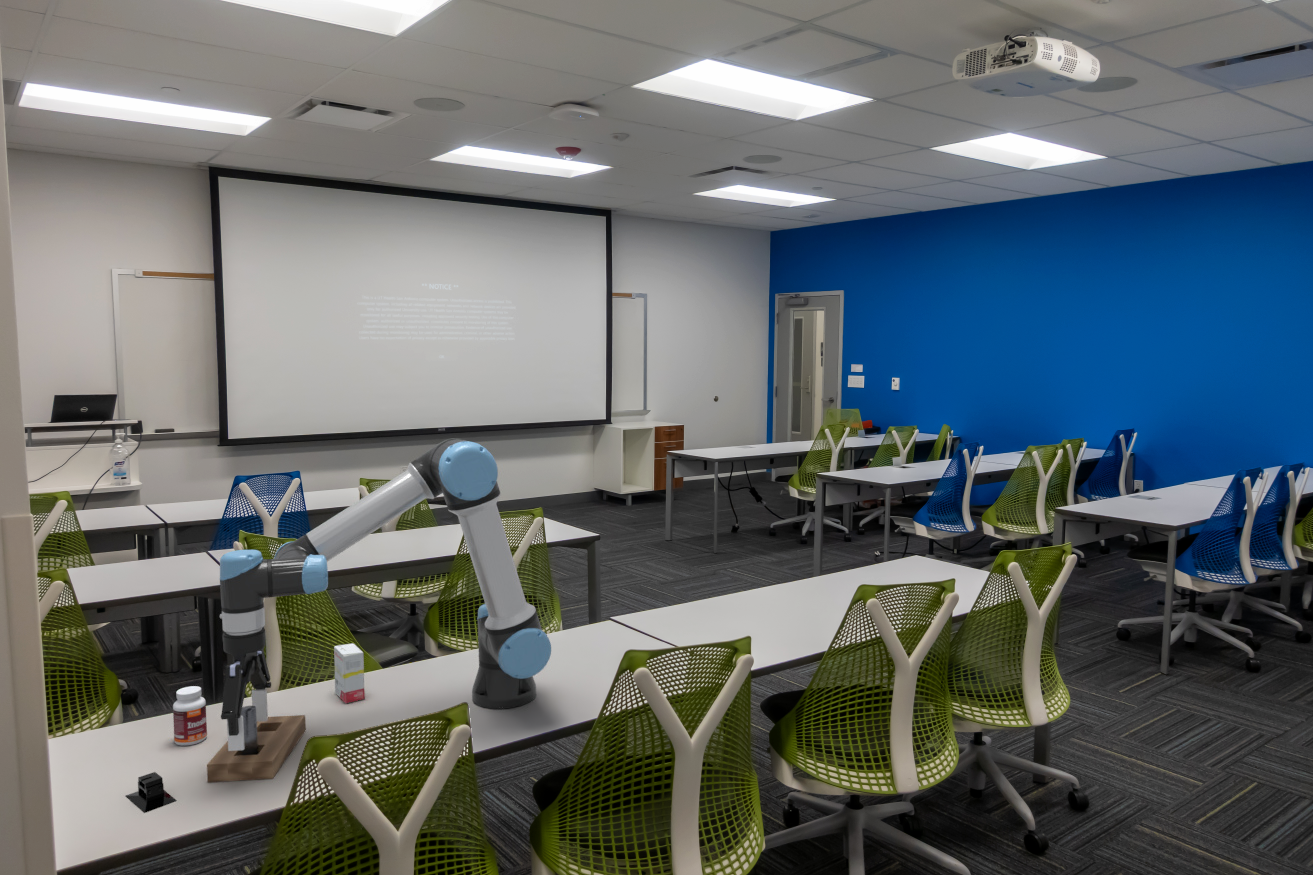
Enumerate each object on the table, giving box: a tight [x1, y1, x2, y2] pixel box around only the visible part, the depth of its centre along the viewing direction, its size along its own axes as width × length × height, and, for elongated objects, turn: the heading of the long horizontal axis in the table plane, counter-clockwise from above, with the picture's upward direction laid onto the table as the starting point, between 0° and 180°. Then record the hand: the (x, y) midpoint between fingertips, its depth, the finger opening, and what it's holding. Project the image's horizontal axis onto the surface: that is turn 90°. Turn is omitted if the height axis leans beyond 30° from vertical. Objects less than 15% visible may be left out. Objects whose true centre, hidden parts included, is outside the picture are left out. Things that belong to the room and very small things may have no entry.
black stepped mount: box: [124, 771, 178, 814], centre depth 160 cm, size 12×7×5 cm, turn 49°
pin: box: [241, 705, 258, 755], centre depth 171 cm, size 3×3×12 cm
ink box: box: [333, 643, 366, 704], centre depth 208 cm, size 9×5×12 cm, turn 36°
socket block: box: [206, 714, 307, 783], centre depth 177 cm, size 12×22×4 cm, turn 6°
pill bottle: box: [172, 685, 208, 747], centre depth 184 cm, size 6×6×11 cm
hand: (248, 734), depth 171 cm, fingers open, 13 cm apart
